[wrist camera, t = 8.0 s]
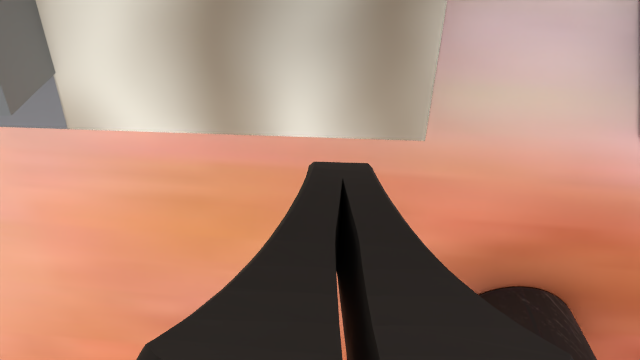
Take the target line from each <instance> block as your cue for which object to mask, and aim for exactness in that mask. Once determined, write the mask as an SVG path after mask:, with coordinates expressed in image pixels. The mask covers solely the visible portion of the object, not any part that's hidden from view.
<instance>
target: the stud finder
mask: <svg viewBox="0 0 640 360" xmlns="http://www.w3.org/2000/svg"><path fill="white" fill-rule="evenodd" d="M54 74H55V69H54V65H53V62H52V58H51V55H50V51H49V47H48V44H47V40H46V36H45V33H44V29H43V26H42V22H41V18H40V15H39V11H38V8H37V4H36V0H0V116H12V115H13V114H14V113H15V112H16V111H17V110H18V109H19V108H20V107H21V106H22V105H23V104H24V103H25V102H26V101H27V100H28V99H29V98H30V97H31V96H32V95H33V94H34V93H35V92H37V91H38V90H39V89H40V88H41V87H42V86H43V85H44V84H45V83H46V82H47V81H48V80H49V79H50V78H51V77H52V76H53V75H54Z"/></svg>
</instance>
